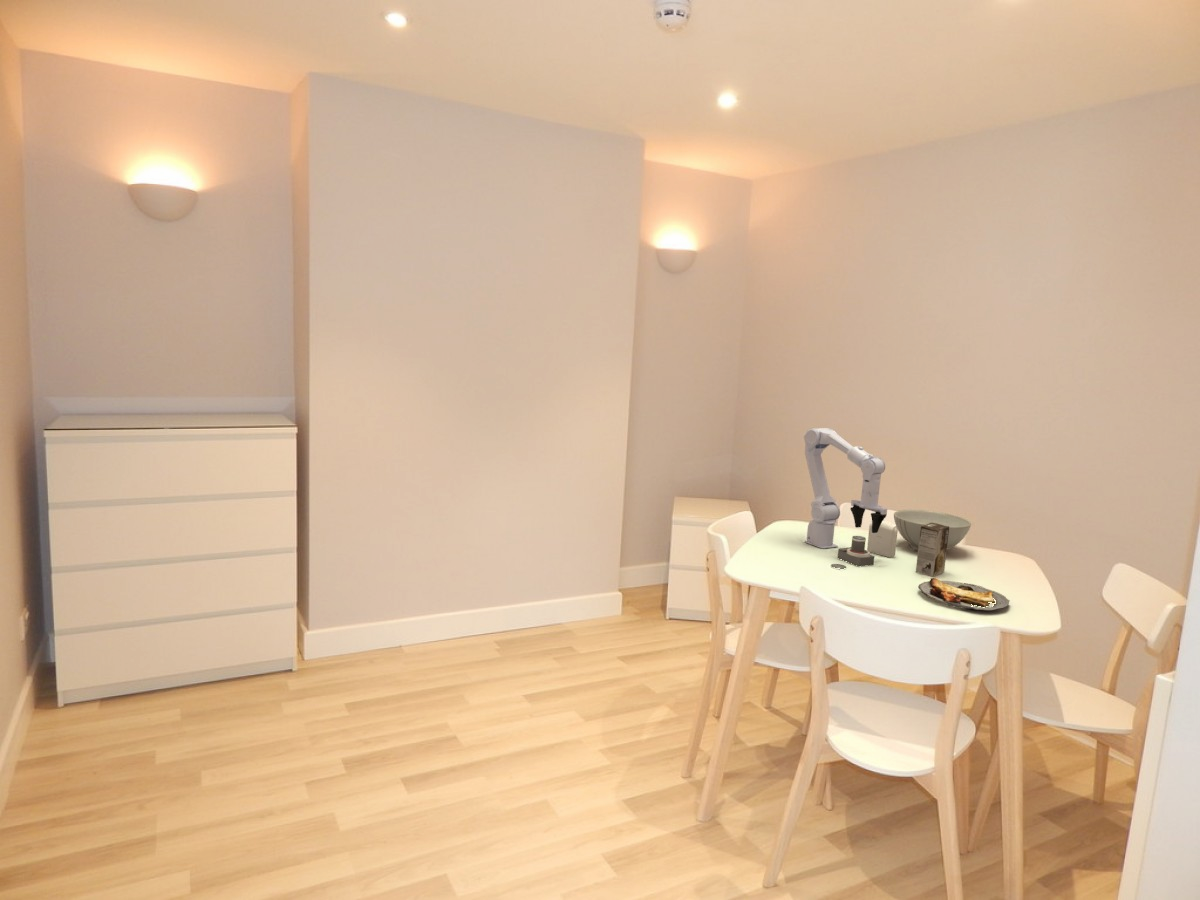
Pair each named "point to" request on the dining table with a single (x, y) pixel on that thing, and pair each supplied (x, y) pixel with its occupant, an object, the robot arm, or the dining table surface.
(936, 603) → the dining table surface
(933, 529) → the coffee box
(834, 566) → the lens cap
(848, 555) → the camera body
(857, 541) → the lens
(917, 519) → the decorative bowl
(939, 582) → the food plate
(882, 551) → the photo printer
